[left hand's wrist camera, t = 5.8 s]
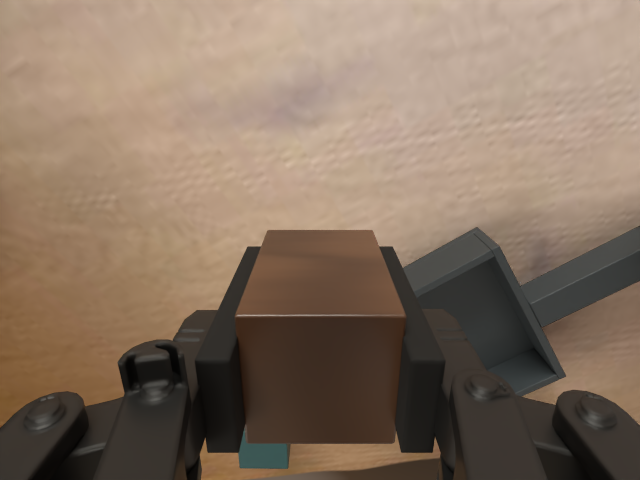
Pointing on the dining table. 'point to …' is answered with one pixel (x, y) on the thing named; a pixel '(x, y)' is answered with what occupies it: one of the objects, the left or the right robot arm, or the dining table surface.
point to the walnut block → (320, 340)
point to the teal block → (263, 455)
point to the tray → (518, 299)
